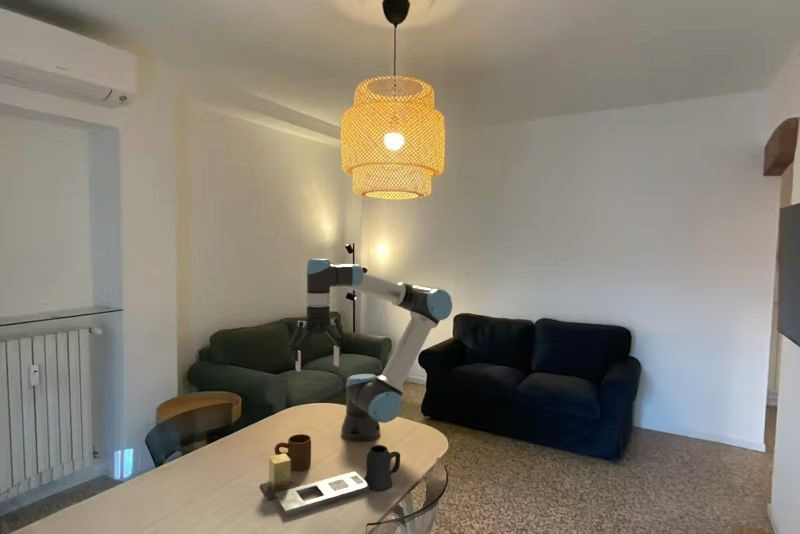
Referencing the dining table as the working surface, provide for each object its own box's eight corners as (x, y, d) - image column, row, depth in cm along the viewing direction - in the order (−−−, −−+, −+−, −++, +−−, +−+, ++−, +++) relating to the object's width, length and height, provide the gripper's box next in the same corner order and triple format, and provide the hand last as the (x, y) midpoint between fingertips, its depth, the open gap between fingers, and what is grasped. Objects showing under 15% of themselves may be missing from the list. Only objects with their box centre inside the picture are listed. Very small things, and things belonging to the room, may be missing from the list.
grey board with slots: (354, 477, 149) (355, 471, 149) (369, 492, 141) (369, 485, 141) (274, 500, 135) (274, 493, 135) (285, 517, 127) (285, 510, 127)
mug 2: (371, 494, 139) (372, 458, 139) (358, 480, 147) (359, 446, 147) (405, 484, 146) (406, 449, 145) (391, 471, 153) (392, 438, 153)
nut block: (285, 481, 145) (285, 453, 144) (290, 488, 140) (290, 459, 140) (269, 485, 142) (269, 456, 141) (273, 493, 138) (274, 463, 137)
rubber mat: (288, 478, 147) (288, 476, 147) (298, 492, 140) (298, 490, 140) (260, 486, 143) (260, 484, 143) (268, 500, 135) (268, 498, 135)
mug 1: (276, 476, 149) (276, 447, 148) (272, 465, 156) (272, 438, 155) (313, 469, 154) (313, 441, 153) (307, 459, 161) (307, 432, 160)
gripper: (347, 301, 165) (346, 360, 166) (277, 305, 151) (277, 370, 153) (357, 304, 158) (356, 365, 160) (285, 309, 145) (284, 376, 146)
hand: (317, 368), depth 156 cm, fingers open, 13 cm apart
